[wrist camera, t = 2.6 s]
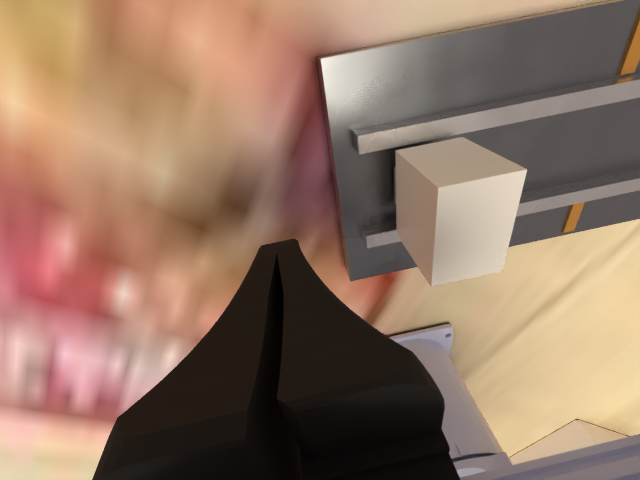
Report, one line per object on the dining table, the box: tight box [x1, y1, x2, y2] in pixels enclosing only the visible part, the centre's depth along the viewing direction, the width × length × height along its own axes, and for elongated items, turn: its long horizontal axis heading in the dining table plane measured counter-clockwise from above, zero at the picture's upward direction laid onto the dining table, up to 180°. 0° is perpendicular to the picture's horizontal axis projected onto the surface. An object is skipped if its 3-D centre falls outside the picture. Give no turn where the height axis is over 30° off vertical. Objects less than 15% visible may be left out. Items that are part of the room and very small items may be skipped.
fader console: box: [316, 0, 640, 281], centre depth 16 cm, size 12×24×2 cm, turn 99°
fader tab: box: [394, 137, 527, 287], centre depth 13 cm, size 4×3×5 cm
